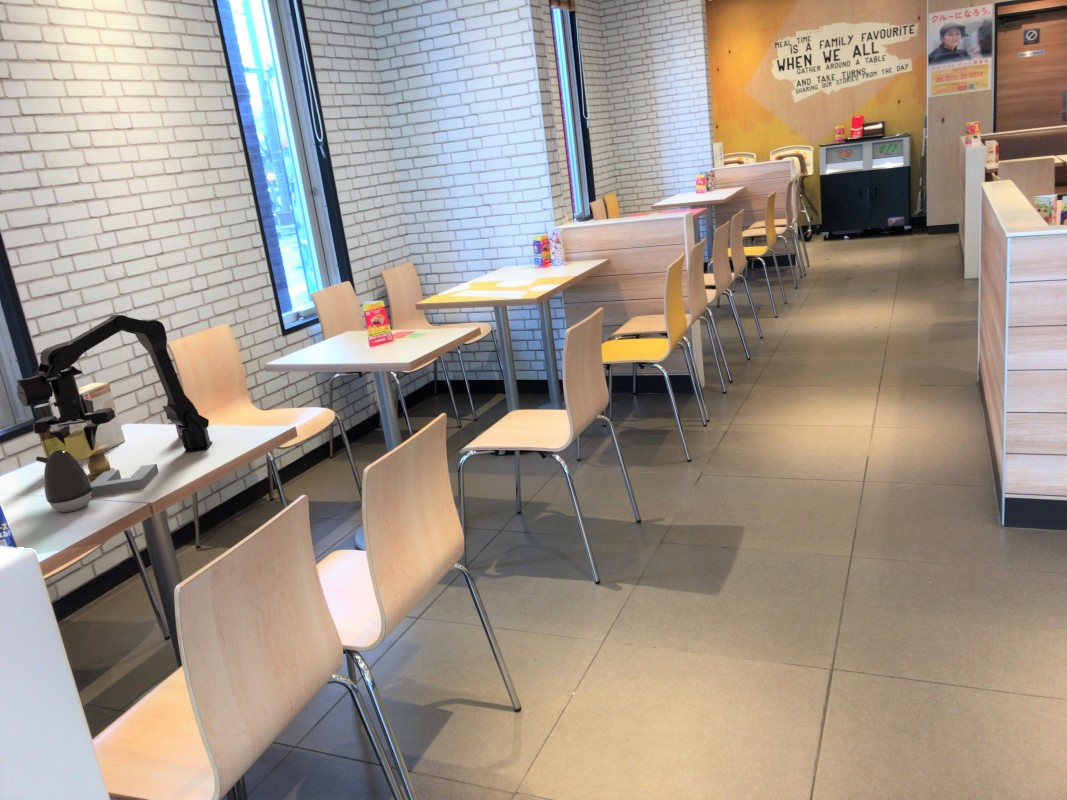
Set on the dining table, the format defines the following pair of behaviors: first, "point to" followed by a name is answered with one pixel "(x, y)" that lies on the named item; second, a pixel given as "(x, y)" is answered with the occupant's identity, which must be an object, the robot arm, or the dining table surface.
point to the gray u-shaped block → (123, 480)
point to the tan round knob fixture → (98, 462)
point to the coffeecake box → (101, 399)
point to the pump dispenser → (65, 482)
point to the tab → (79, 445)
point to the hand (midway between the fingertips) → (83, 451)
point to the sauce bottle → (47, 440)
